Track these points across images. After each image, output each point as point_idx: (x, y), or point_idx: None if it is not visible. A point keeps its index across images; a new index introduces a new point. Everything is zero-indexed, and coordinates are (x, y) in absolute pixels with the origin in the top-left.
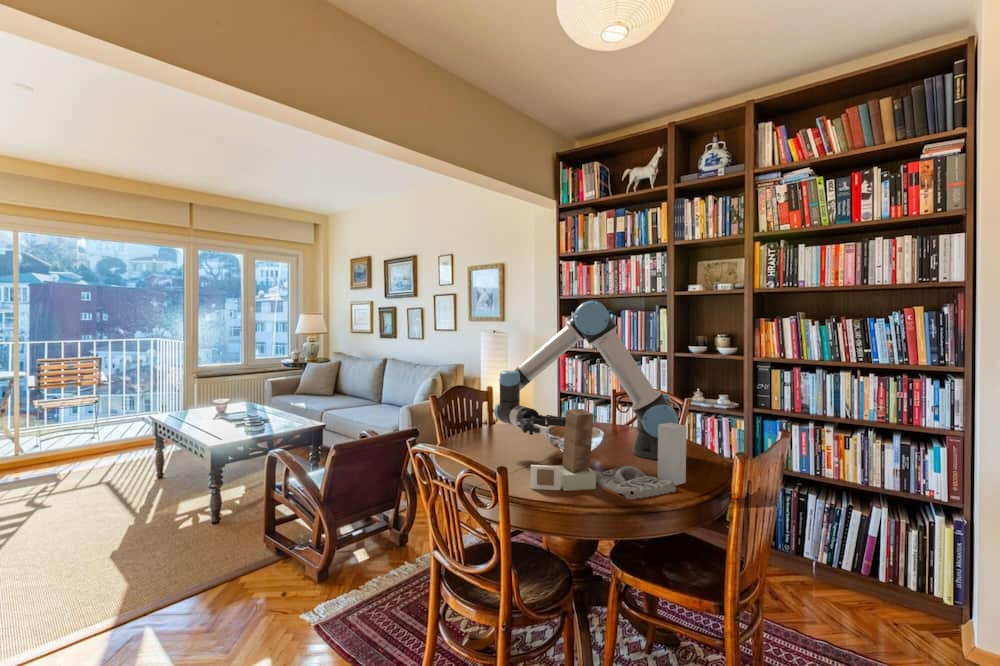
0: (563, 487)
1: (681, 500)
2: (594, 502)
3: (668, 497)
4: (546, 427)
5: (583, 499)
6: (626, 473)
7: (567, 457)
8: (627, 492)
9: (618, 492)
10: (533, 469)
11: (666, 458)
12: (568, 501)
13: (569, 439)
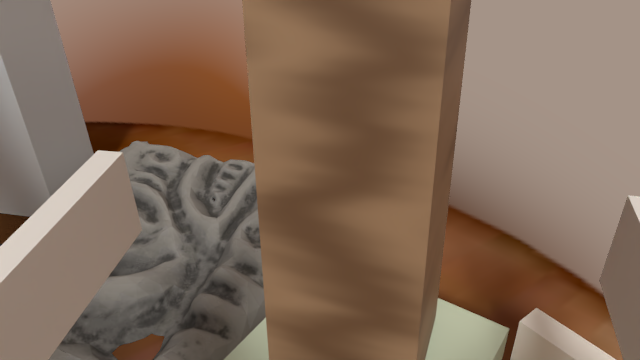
0: None
1: (222, 133)
2: (466, 243)
3: (222, 153)
4: (636, 219)
5: (484, 279)
6: None
7: (430, 302)
8: None
9: None
10: None
11: (54, 102)
12: (563, 302)
13: (443, 167)
